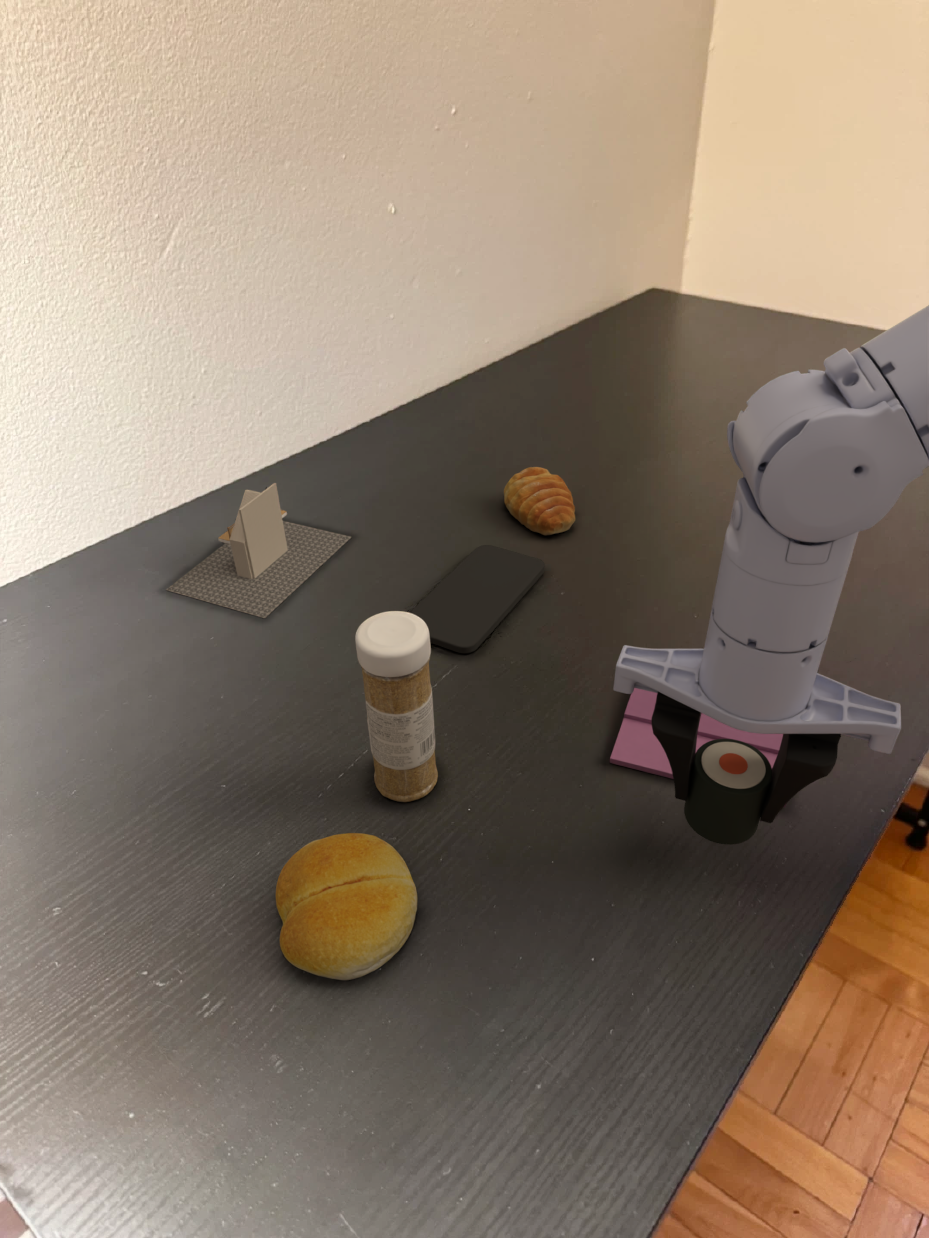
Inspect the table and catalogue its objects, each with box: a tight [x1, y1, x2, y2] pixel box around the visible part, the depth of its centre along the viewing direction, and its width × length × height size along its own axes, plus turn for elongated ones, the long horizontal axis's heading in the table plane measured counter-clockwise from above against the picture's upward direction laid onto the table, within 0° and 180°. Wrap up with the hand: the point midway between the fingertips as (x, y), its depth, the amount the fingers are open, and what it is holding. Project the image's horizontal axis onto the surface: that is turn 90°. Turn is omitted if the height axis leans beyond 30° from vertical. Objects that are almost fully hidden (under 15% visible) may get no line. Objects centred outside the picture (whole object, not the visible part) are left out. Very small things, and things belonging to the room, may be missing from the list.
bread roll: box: [275, 832, 418, 981], centre depth 50 cm, size 8×9×4 cm
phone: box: [409, 544, 546, 654], centre depth 76 cm, size 7×1×15 cm
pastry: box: [503, 466, 576, 536], centre depth 87 cm, size 9×7×4 cm
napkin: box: [609, 688, 787, 808], centre depth 61 cm, size 12×9×1 cm
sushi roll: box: [683, 739, 772, 846], centre depth 50 cm, size 4×4×5 cm
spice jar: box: [354, 610, 439, 803], centre depth 55 cm, size 5×5×13 cm
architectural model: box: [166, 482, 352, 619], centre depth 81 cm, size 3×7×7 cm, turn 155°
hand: (725, 798), depth 51 cm, fingers closed on sushi roll, 4 cm apart
